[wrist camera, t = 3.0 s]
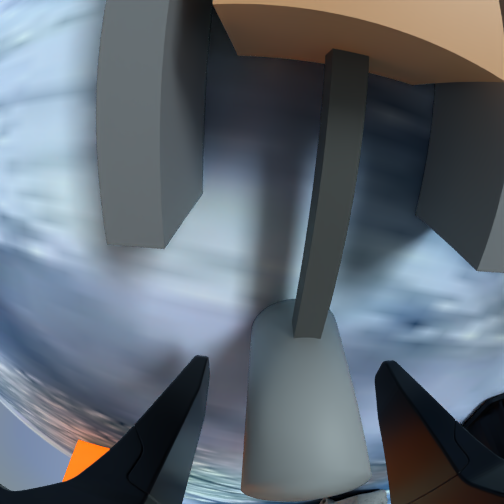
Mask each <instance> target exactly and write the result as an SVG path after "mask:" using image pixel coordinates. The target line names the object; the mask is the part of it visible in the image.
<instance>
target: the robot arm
mask: <svg viewBox="0 0 504 504" xmlns="http://www.w3.org/2000/svg"><path fill="white" fill-rule="evenodd" d="M209 377H210V369H209V358H208V357H207V356H200V355H197V356H195V357H194V358H193V359H192V360H191V361H190V363H189V364H188V365H187V366H186V367H185V368H184V369H183V371H182V372H181V373H180V374H179V375H178V376H177V377H176V379H175V380H174V381H173V382H172V383H171V384H170V385H169V387H168V388H167V389H166V390H165V391H164V392H163V393H162V394H161V396H160V397H159V398H158V399H157V400H156V401H155V402H154V403H153V405H152V406H151V407H150V408H149V409H148V410H147V411H146V412H145V414H144V415H143V416H142V417H141V418H140V419H139V420H138V421H137V422H136V424H135V426H133V427H132V428H131V429H130V430H129V431H128V432H127V433H126V434H125V435H124V436H123V437H122V438H121V439H120V440H119V441H118V442H117V443H116V444H115V445H114V446H113V447H112V448H111V449H110V450H108V451H107V452H106V453H105V454H104V455H103V456H101V457H100V458H99V459H98V460H96V461H95V462H94V463H93V464H91V465H90V466H89V467H88V468H86V469H85V470H84V471H82V472H81V473H80V474H78V475H77V476H75V477H74V478H71V479H69V480H67V481H64V482H60V483H56V484H52V485H48V486H43V487H38V488H33V489H28V490H22V491H11V490H9V489H7V488H6V487H4V486H2V485H1V484H0V504H182V501H183V497H184V494H185V490H186V486H187V482H188V478H189V474H190V471H191V467H192V463H193V459H194V455H195V452H196V448H197V444H198V440H199V436H200V432H201V429H202V425H203V421H204V416H205V410H206V401H207V393H208V385H209ZM375 390H376V400H377V412H378V420H379V426H380V431H381V436H382V442H383V448H384V454H385V460H386V467H387V474H388V481H389V489H390V498H391V504H504V394H502V395H500V396H497V397H494V398H492V399H489V400H488V401H487V402H485V403H484V404H483V406H482V407H481V408H480V409H479V410H478V411H477V412H476V413H475V414H474V415H473V416H472V417H471V418H470V419H469V421H468V422H467V423H466V424H465V425H464V426H463V427H462V426H461V425H460V424H459V423H458V422H457V421H455V419H454V418H453V417H452V416H451V415H450V414H449V413H448V412H447V411H446V410H445V409H444V408H443V407H442V406H441V405H440V404H439V403H438V402H437V401H436V400H435V399H434V398H433V397H432V396H431V395H430V394H429V393H428V392H427V391H426V390H425V389H424V388H423V387H422V386H421V385H419V384H418V383H417V382H416V381H415V380H414V379H413V378H412V377H411V376H410V375H409V374H408V373H407V372H406V371H405V370H404V369H403V368H402V367H401V366H400V365H399V364H398V363H397V362H395V361H384V362H383V363H382V364H381V366H380V368H379V370H378V372H377V374H376V376H375Z"/></svg>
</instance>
